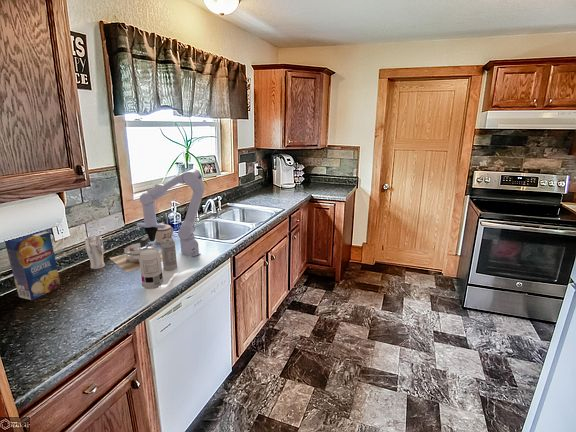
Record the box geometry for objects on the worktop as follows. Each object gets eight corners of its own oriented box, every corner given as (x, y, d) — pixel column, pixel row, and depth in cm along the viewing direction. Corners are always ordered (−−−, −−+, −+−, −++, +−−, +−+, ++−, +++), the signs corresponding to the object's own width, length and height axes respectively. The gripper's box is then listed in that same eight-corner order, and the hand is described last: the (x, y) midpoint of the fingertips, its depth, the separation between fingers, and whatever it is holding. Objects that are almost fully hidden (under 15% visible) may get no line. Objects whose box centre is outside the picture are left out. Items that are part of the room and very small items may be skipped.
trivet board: (172, 260, 164) (172, 258, 164) (126, 274, 149) (126, 272, 149) (152, 248, 179) (152, 246, 179) (109, 260, 164) (109, 258, 164)
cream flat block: (159, 261, 161) (158, 252, 159) (130, 267, 153) (129, 258, 152) (149, 248, 176) (148, 240, 174) (122, 254, 168) (121, 246, 167)
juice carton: (31, 300, 127) (18, 242, 121) (18, 297, 130) (4, 239, 123) (61, 286, 138) (50, 232, 131) (48, 283, 140) (36, 230, 134)
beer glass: (86, 269, 153) (80, 239, 149) (99, 264, 159) (94, 234, 155) (96, 272, 151) (91, 241, 147) (109, 266, 157) (105, 236, 153)
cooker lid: (148, 255, 156) (147, 248, 155) (119, 255, 156) (118, 248, 155) (162, 241, 174) (161, 234, 173) (136, 240, 174) (135, 234, 173)
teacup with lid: (164, 246, 182) (162, 226, 179) (152, 243, 186) (149, 223, 183) (179, 239, 193) (177, 220, 189) (167, 237, 196) (165, 218, 193)
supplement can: (138, 287, 138) (133, 254, 133) (152, 278, 145) (148, 247, 141) (153, 291, 135) (149, 257, 131) (167, 282, 142) (164, 249, 138)
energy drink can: (176, 266, 157) (173, 236, 153) (178, 271, 152) (175, 241, 148) (163, 268, 155) (160, 238, 151) (164, 273, 150) (160, 243, 146)
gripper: (131, 217, 164) (135, 242, 168) (159, 218, 162) (161, 244, 166) (139, 213, 170) (142, 237, 174) (166, 214, 169) (168, 239, 172)
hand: (152, 240), depth 170 cm, fingers closed
